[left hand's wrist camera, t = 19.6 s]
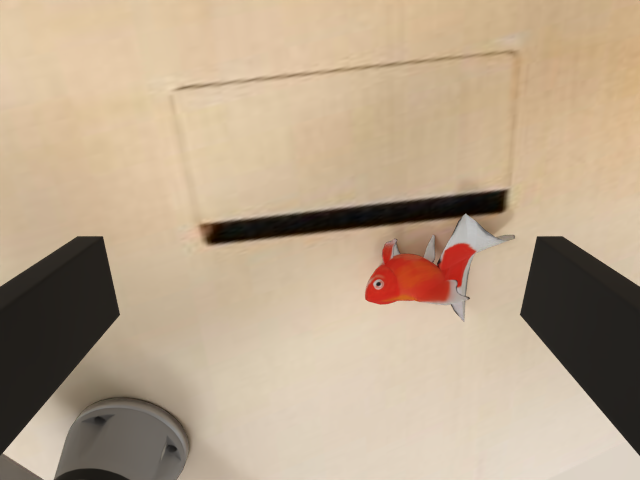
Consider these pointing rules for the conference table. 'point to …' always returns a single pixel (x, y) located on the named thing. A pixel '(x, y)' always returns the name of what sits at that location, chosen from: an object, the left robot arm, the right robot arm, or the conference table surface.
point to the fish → (431, 269)
